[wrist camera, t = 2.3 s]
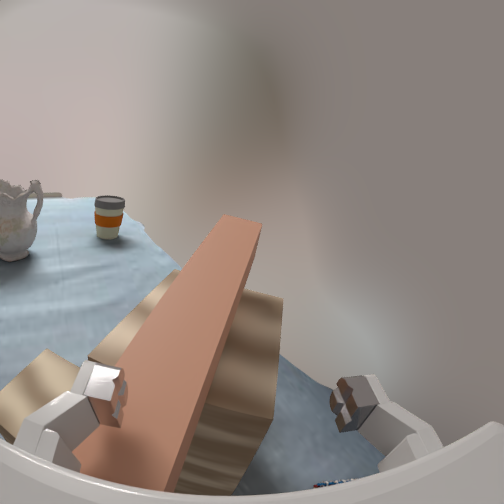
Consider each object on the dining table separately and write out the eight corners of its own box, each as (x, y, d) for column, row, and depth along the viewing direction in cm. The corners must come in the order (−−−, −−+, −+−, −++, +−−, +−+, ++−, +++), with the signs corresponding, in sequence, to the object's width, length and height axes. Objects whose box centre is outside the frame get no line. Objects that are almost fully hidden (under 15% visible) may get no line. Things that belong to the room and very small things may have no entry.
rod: (151, 555, 5) (137, 561, 4) (70, 517, 6) (34, 504, 4) (254, 258, 30) (262, 223, 28) (218, 248, 30) (223, 214, 28)
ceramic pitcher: (46, 247, 81) (48, 177, 74) (41, 266, 66) (41, 181, 59) (-3, 248, 68) (-4, 177, 61) (-17, 267, 53) (-21, 183, 46)
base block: (96, 514, 17) (56, 469, 12) (34, 475, 18) (-17, 407, 13) (128, 453, 29) (115, 385, 24) (71, 423, 29) (46, 348, 24)
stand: (215, 519, 22) (273, 419, 14) (126, 490, 23) (87, 355, 15) (236, 435, 37) (283, 298, 29) (163, 413, 38) (174, 269, 30)
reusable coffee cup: (125, 240, 102) (128, 202, 97) (94, 241, 94) (97, 202, 89) (118, 230, 110) (121, 195, 106) (90, 230, 102) (93, 195, 98)
